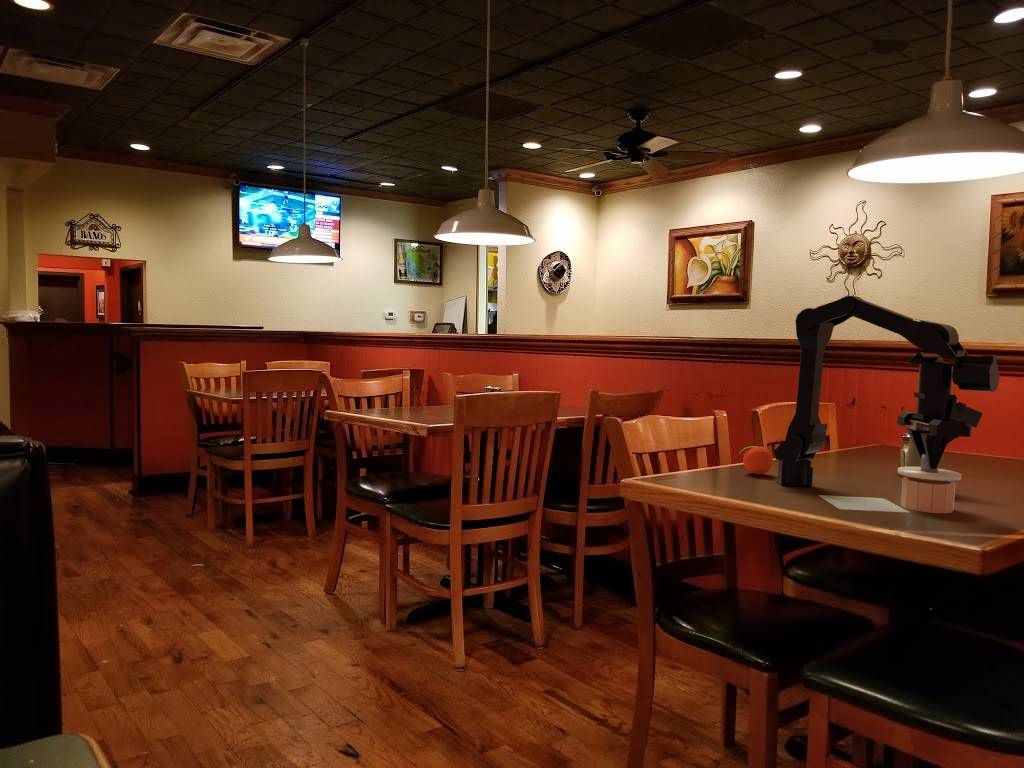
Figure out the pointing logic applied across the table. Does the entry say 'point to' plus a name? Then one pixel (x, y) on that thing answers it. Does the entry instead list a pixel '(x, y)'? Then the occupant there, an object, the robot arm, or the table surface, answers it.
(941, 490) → the bowl
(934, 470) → the lid
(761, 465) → the clementine
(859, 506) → the mat
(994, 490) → the table surface
